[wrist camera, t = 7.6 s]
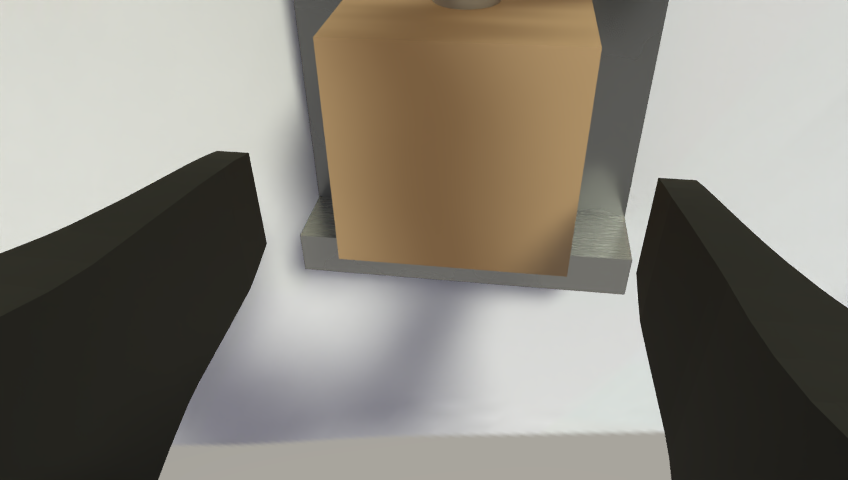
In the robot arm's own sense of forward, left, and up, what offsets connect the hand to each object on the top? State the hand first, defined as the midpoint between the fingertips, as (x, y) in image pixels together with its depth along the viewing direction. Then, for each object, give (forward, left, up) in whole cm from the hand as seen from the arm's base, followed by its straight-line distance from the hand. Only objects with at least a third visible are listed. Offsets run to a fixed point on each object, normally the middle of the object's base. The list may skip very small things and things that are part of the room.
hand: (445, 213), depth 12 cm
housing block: (0, 0, -6) cm, 6 cm away
